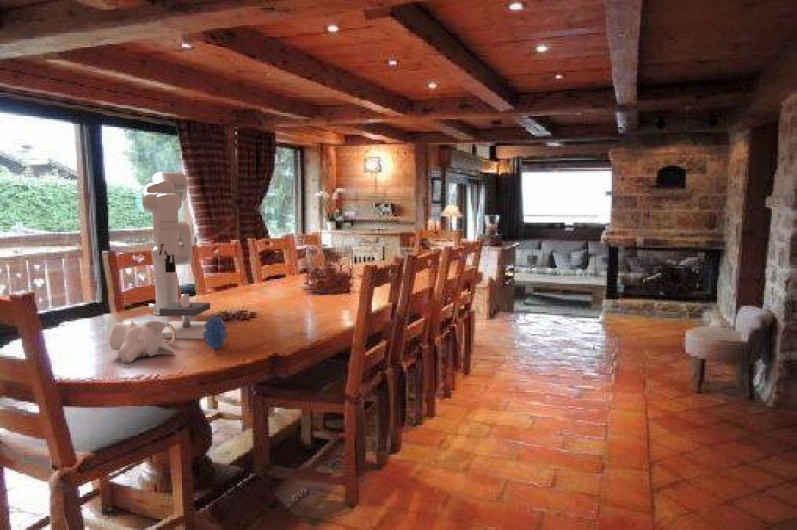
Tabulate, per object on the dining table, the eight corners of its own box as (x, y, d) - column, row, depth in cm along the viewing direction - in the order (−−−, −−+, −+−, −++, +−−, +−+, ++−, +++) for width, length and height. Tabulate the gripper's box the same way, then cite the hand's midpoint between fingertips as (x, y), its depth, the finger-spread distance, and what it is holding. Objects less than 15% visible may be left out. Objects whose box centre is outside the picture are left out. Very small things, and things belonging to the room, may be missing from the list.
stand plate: (146, 337, 208) (146, 332, 208) (172, 325, 228) (172, 320, 228) (202, 338, 206) (202, 333, 206) (223, 326, 226) (223, 321, 226)
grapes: (216, 354, 185) (214, 319, 184) (199, 352, 187) (197, 318, 186) (235, 345, 196) (234, 313, 195) (219, 344, 198) (218, 312, 197)
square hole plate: (159, 315, 210) (159, 308, 210) (177, 308, 224) (176, 302, 223) (194, 315, 209) (194, 309, 208) (210, 308, 223) (210, 302, 222)
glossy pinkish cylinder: (179, 327, 215) (178, 295, 214) (184, 325, 219) (182, 293, 217) (188, 328, 215) (187, 295, 213) (192, 325, 219) (191, 294, 217)
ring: (178, 344, 198) (177, 322, 197) (171, 346, 195) (170, 324, 194) (163, 342, 201) (162, 321, 200) (156, 344, 198) (155, 322, 197)
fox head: (88, 344, 170) (153, 340, 169) (113, 314, 185) (173, 311, 184) (102, 378, 176) (165, 375, 175) (125, 347, 191) (183, 343, 190)
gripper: (168, 224, 220) (170, 269, 223) (148, 226, 206) (151, 274, 208) (186, 224, 220) (188, 269, 222) (168, 227, 205) (170, 275, 208)
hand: (170, 272), depth 215 cm, fingers closed
